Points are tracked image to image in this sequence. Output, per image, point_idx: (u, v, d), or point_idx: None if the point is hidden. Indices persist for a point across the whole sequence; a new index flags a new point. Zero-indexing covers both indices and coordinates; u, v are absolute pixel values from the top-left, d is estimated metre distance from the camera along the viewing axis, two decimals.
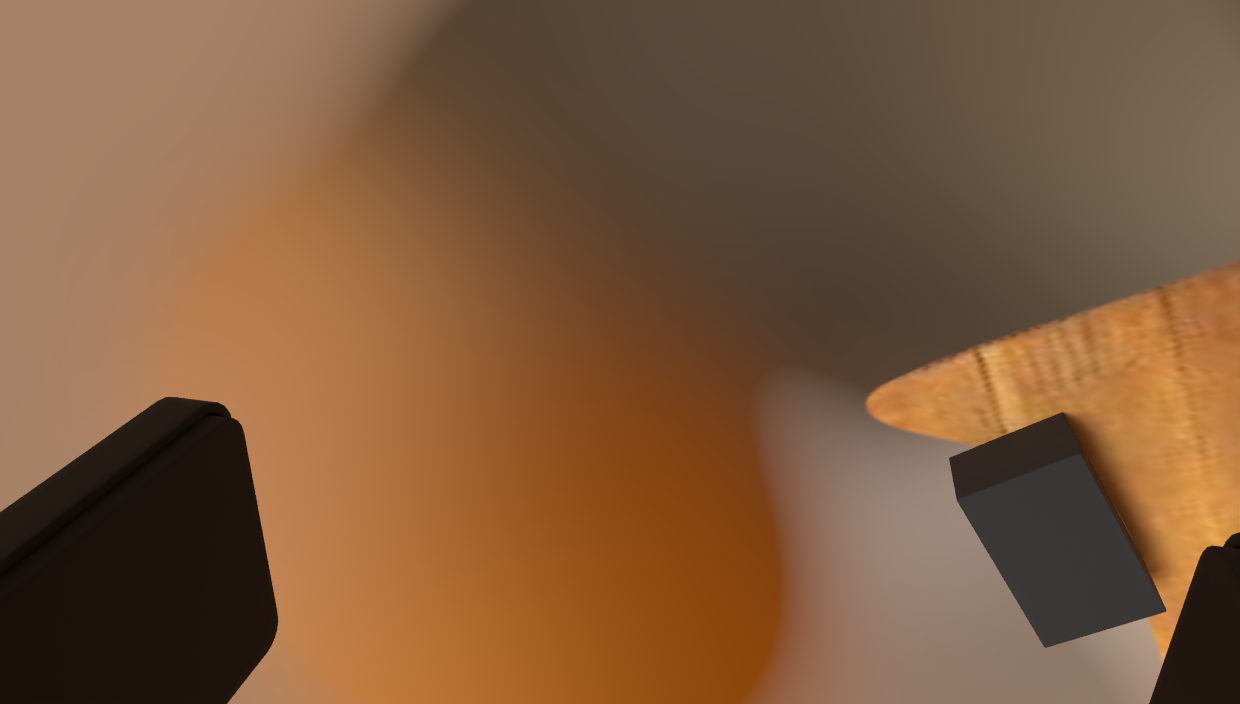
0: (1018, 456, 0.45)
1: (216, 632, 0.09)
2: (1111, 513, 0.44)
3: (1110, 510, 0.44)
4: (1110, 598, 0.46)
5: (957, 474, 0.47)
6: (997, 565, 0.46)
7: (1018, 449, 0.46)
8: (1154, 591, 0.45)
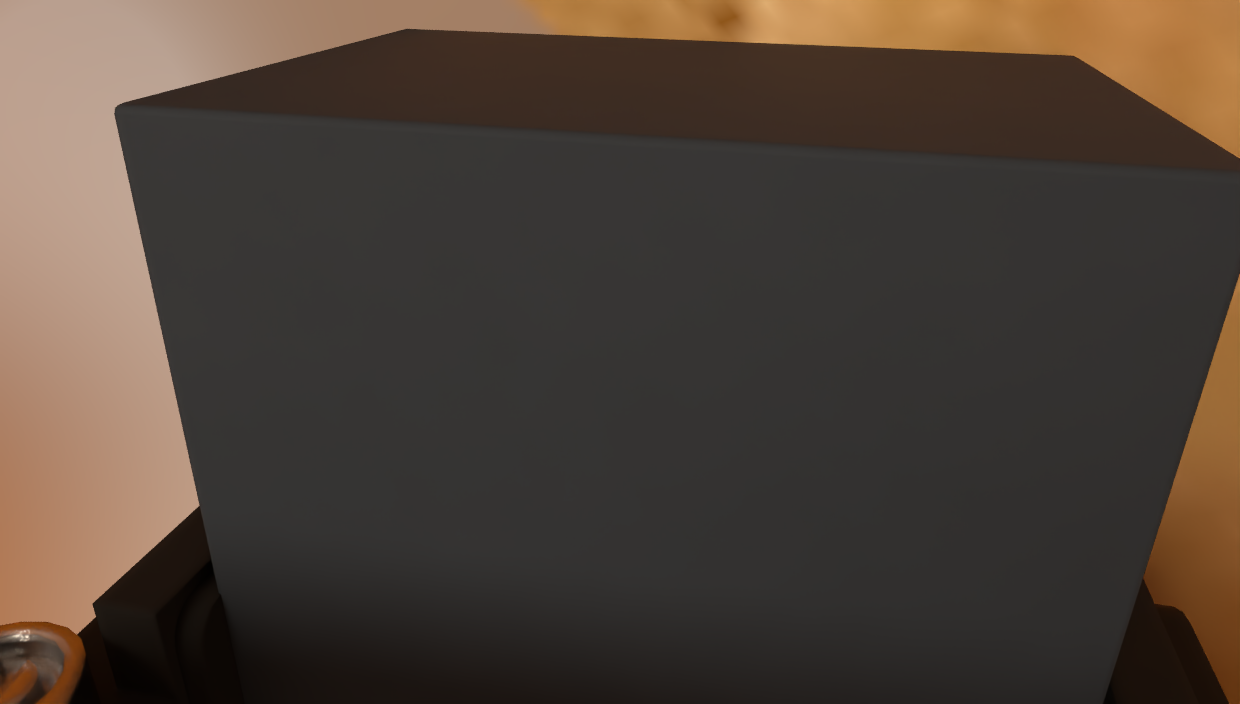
0: (726, 85, 0.06)
1: None
2: None
3: None
4: None
5: (335, 55, 0.07)
6: (242, 677, 0.07)
7: (750, 72, 0.07)
8: None
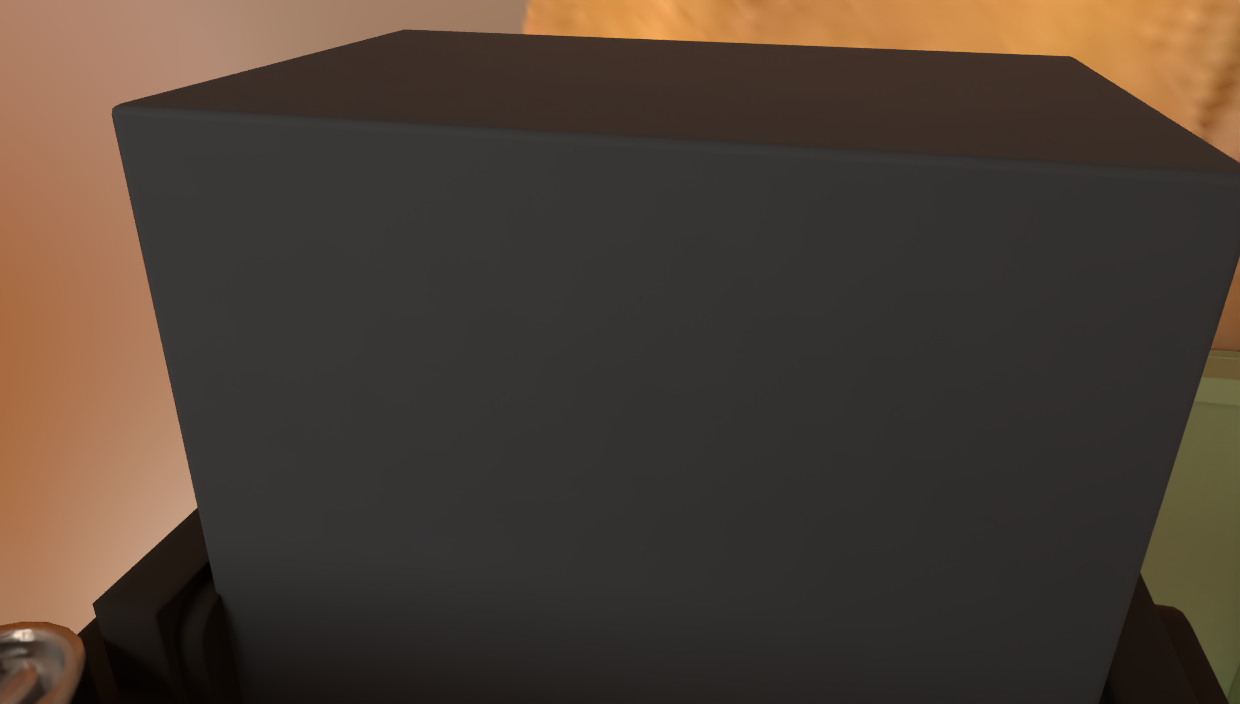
0: (721, 85, 0.06)
1: None
2: None
3: None
4: None
5: (333, 56, 0.07)
6: (240, 677, 0.07)
7: (747, 72, 0.07)
8: None
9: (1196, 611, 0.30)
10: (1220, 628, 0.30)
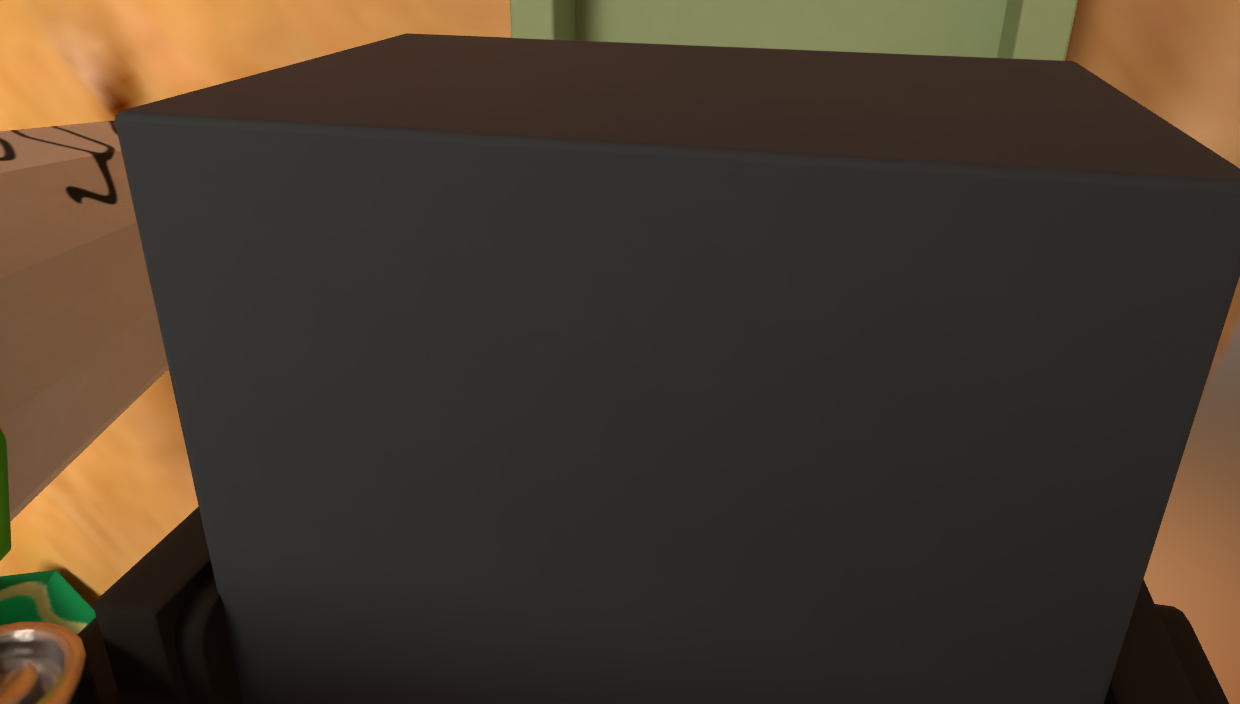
0: (726, 91, 0.06)
1: None
2: None
3: None
4: None
5: (335, 61, 0.07)
6: (243, 681, 0.07)
7: (748, 78, 0.07)
8: None
9: None
10: None
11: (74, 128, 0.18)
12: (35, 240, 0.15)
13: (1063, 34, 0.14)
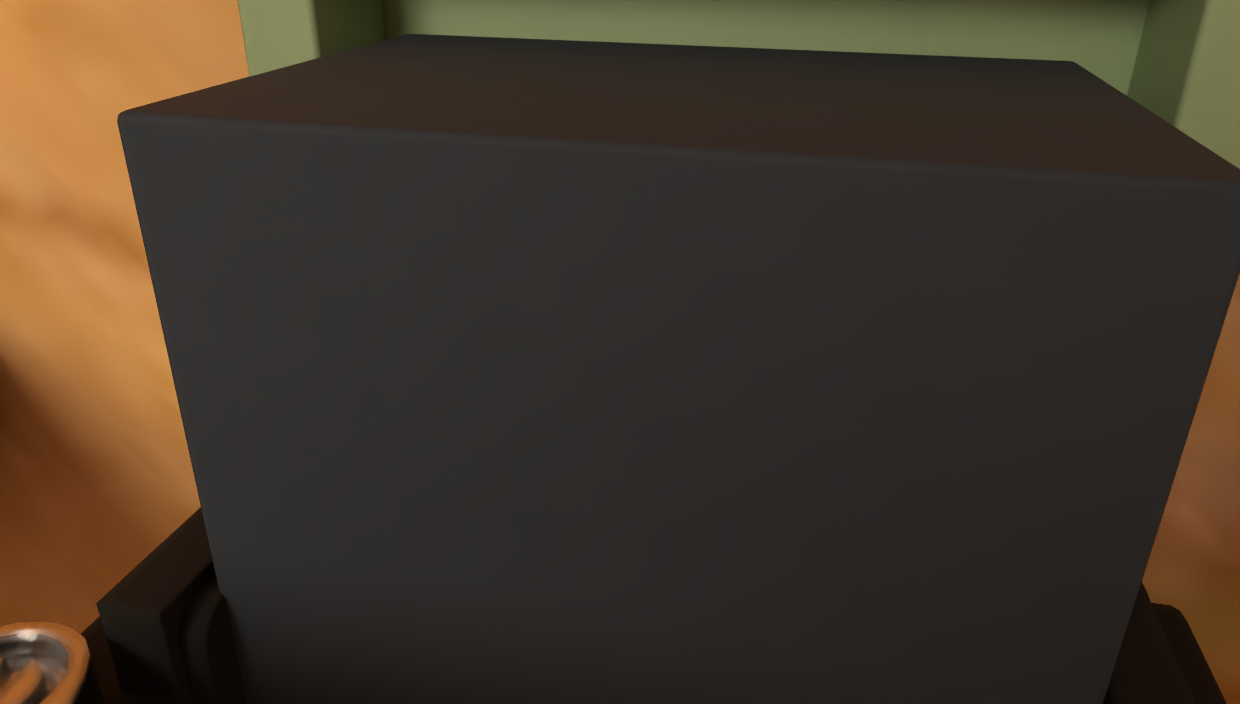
0: (726, 92, 0.06)
1: None
2: None
3: None
4: None
5: (337, 61, 0.07)
6: (244, 680, 0.07)
7: (749, 78, 0.07)
8: None
9: None
10: None
11: None
12: None
13: None
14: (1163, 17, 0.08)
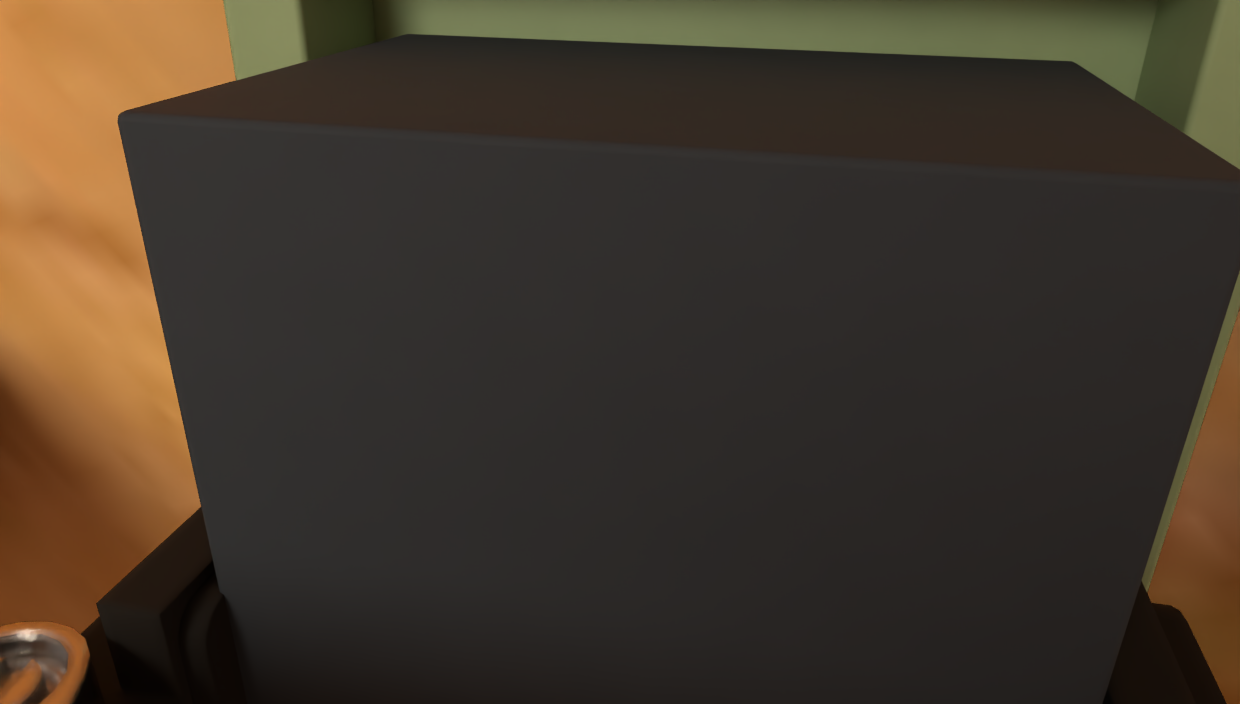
0: (725, 93, 0.06)
1: None
2: None
3: None
4: None
5: (337, 61, 0.07)
6: (244, 680, 0.07)
7: (749, 78, 0.07)
8: None
9: None
10: None
11: None
12: None
13: None
14: (1173, 17, 0.08)
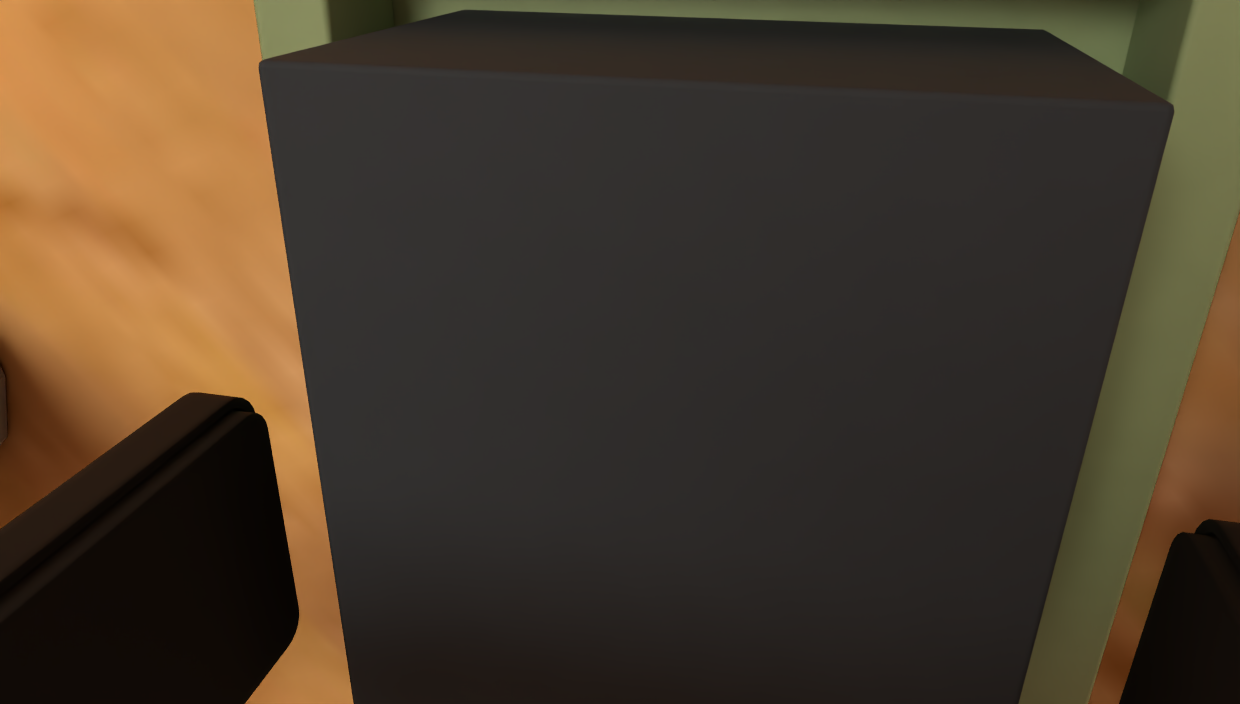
0: (749, 49, 0.07)
1: (240, 625, 0.09)
2: (1037, 595, 0.07)
3: (1045, 577, 0.07)
4: None
5: (415, 28, 0.08)
6: (337, 555, 0.08)
7: (768, 39, 0.08)
8: None
9: None
10: None
11: None
12: None
13: None
14: (1152, 17, 0.08)
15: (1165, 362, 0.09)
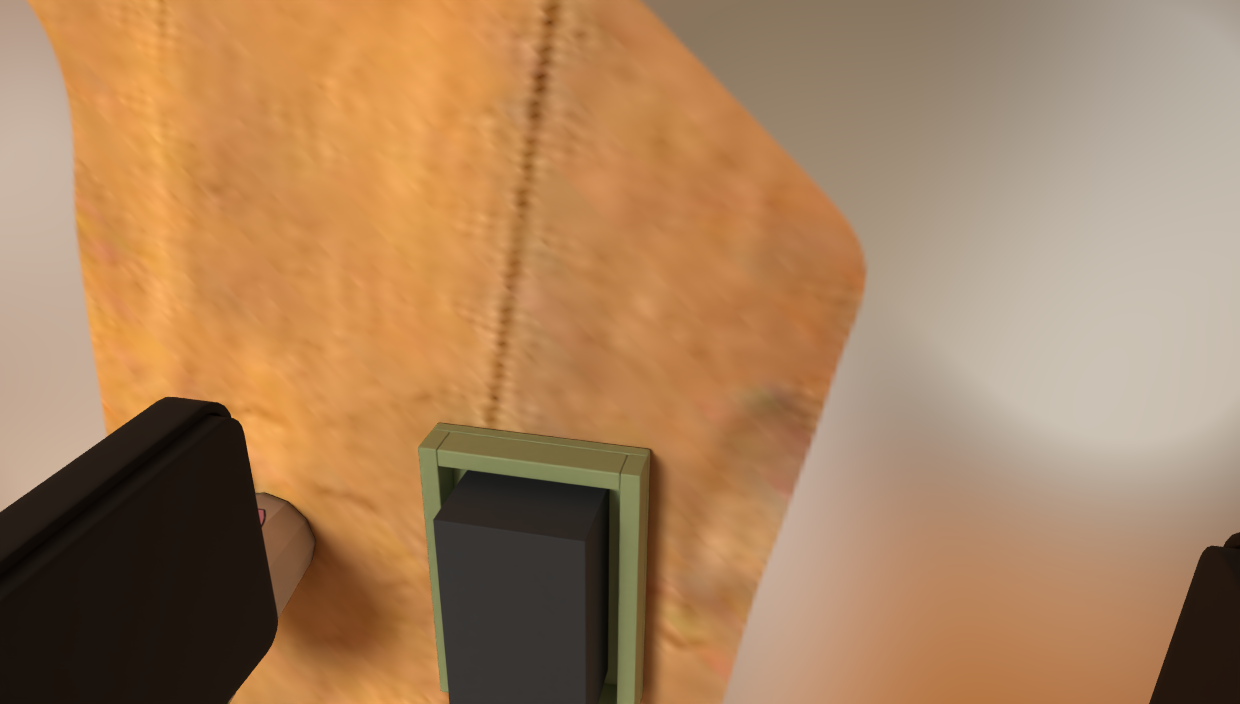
0: (529, 507, 0.36)
1: (216, 632, 0.09)
2: (583, 618, 0.36)
3: (584, 615, 0.36)
4: (538, 698, 0.38)
5: (460, 489, 0.37)
6: (442, 609, 0.37)
7: (536, 498, 0.37)
8: None
9: None
10: None
11: None
12: None
13: (636, 525, 0.36)
14: None
15: (632, 564, 0.37)
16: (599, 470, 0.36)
